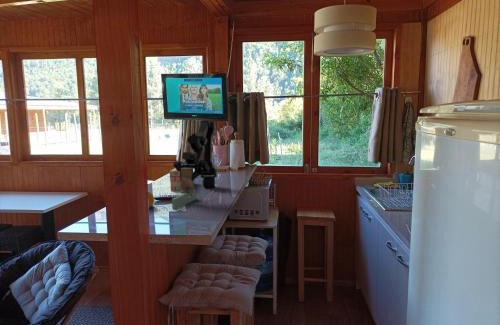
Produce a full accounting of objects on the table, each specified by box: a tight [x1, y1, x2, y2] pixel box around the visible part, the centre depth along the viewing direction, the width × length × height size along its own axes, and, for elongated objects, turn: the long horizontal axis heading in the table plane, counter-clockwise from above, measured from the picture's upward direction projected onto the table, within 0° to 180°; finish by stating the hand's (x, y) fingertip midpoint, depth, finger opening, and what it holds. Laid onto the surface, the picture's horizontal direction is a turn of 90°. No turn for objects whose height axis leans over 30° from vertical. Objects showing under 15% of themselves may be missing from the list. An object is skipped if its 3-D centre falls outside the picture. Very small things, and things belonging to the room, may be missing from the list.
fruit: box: [147, 190, 155, 209], centre depth 179 cm, size 12×12×10 cm
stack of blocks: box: [168, 167, 182, 192], centre depth 223 cm, size 21×6×12 cm, turn 169°
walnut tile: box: [181, 168, 196, 194], centre depth 186 cm, size 2×6×12 cm, turn 68°
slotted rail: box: [171, 189, 197, 210], centre depth 184 cm, size 20×2×5 cm, turn 159°
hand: (186, 180), depth 185 cm, fingers closed on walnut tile, 6 cm apart
